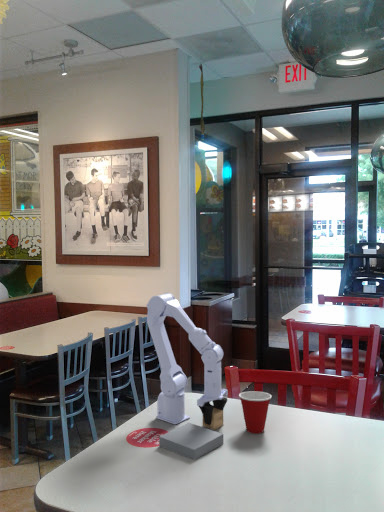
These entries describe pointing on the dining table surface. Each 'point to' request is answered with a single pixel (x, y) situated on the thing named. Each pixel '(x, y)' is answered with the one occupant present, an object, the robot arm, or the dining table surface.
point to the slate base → (191, 440)
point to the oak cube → (215, 419)
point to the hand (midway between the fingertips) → (212, 421)
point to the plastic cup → (255, 410)
